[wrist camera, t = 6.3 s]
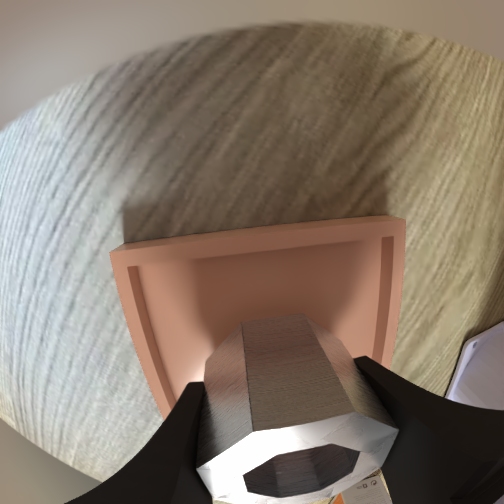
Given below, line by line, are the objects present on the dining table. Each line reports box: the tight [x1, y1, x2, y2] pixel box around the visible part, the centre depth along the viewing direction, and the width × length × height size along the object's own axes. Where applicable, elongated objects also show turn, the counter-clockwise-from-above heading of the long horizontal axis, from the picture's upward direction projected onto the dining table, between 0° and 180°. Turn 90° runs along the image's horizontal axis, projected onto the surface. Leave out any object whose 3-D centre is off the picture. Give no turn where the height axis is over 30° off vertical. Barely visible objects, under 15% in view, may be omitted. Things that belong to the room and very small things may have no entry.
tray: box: [109, 215, 406, 420], centre depth 11 cm, size 11×11×2 cm
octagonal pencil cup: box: [196, 313, 399, 504], centre depth 8 cm, size 5×5×5 cm
